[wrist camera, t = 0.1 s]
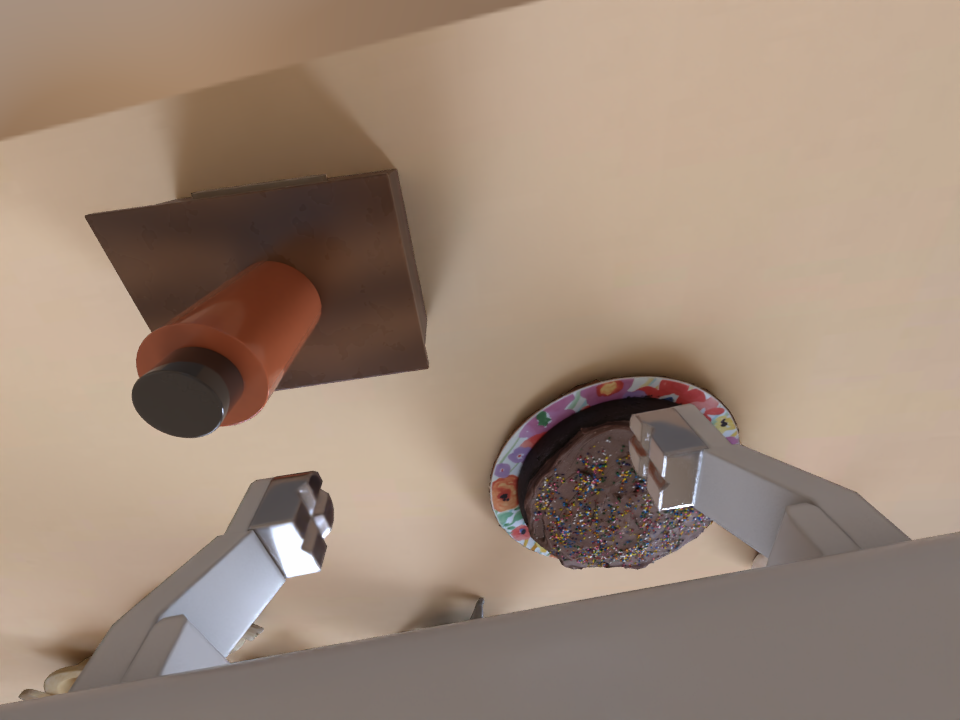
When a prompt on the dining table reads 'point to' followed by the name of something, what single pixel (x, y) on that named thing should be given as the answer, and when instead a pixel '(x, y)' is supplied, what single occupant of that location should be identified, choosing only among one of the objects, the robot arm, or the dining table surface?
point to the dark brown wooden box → (295, 242)
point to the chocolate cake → (595, 476)
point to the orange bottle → (225, 351)
